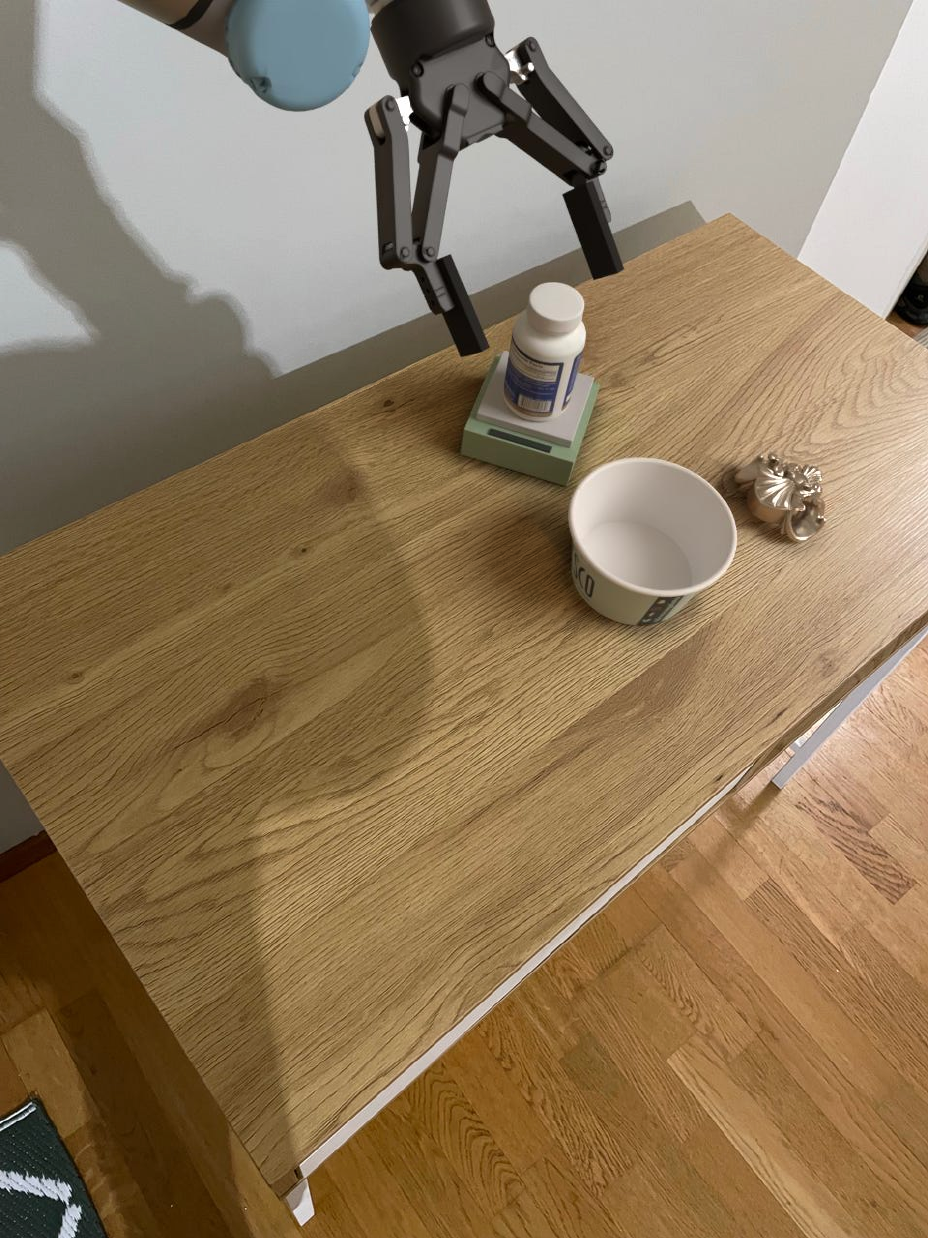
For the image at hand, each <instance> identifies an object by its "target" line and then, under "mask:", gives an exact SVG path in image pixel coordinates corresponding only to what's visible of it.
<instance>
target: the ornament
mask: <svg viewBox="0 0 928 1238" xmlns="http://www.w3.org/2000/svg"><path fill="white" fill-rule="evenodd" d="M822 481H823V474H822V470H820V469H819V468H818V467H817V466H815V465H810V464H804V465H803V466H801V465H800V464H798V463H796V462H784V459H783V458H782V457H781V458H780V457H779V456H778V454H777V453H776V452H774V451H770V452H769V453H768V454H767V460H766V459H765V458H764V455H762V454H758V455H757V456H756V457H755V458H754V459H753V460H752V461H751V462H750V463H749V464H747V465H746V466H744V467H743V468H742V469H740V470H739V471H738V472H737V473H736V474H735V475H734V482H735V483H736V484H738V485H740V486H739V487H738V491H739V492H743V493H744V492H745V493H747V492H748V493H747V495H746V504H747V507H748V509H749V511H750V512H751V514H752V515H753V516H755V518H757V519H759V520H760V521H763V522H765V523H766V524H767V523H768V524H770V525H780V529H779V531H780V532H779V533H780V534H781V535H784V534H786V535H787V536H788V538H789V539H790V540H791V541H793V542H795V543H803V542H806V541H809V540H810V539H812V538H813V537H814V536H816V535H817V534H818V533H819V532H820V531H821V529H823V527H824V526H825V525H826V522H827V518H826V517H825V516H824V515H825V509H826V501H825V500H824V499H821V496H822V494H823V487H822V486H821V485H820V483H821V482H822ZM795 512H797V513H796V515H795V517H794V518H793V515H794V513H795ZM792 518H793V520H792Z"/></svg>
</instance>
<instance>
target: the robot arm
mask: <svg viewBox="0 0 928 1238" xmlns="http://www.w3.org/2000/svg"><path fill="white" fill-rule="evenodd" d="M116 1H117V2H119V3H121V4H123V5H125V6H127V7H129V8H131V9H133V10H136V11H137V12H139V13H141V14H143V15H146V16H147V17H149V18H152V19H154V20H155V21H158V22H160V23H161V24H163V25H165V26H167V27H170V28H171V29H174V30H175V31H177V32H179V33H181V34H183V35H185V36H186V37H188V38H190V39H192V40H194V41H196V42H198V43H200V44H201V45H204V46H206V47H207V48H210V49H212V50H213V51H215V52H217V53H219V54H221V55H223V56H224V57H225V58H227V61H228V63H229V66H230V67H231V69H232V71H233V72H234V73H235V75H236V76H237V77H238V78H239V79H240V80H241V81H242V82H243V83H244V84H245V85H247V86H248V87H249V88H250V89H251V90H252V91H253V93H254V94H255V96H257V97H258V98H259V99H260V100H261V101H263V102H264V103H266V104H268V105H270V106H272V107H273V108H276V109H279V110H282V111H285V112H293V113H296V112H297V113H302V112H309V111H310V112H311V111H314V110H317V109H321V108H322V107H323V108H324V107H325V106H327V105H330V104H331V103H332V102H334V101H336V100H337V99H339V97H341V96H342V95H343V94H344V93H345V92H346V91H347V90H348V89H349V88H350V87H351V85H352V84H353V83H354V82H355V79H356V77H357V76H358V75H359V74H360V72H361V68H362V66H364V63H365V60H366V58H367V54H368V51H369V47H370V42H371V41H370V39H371V35H372V37H373V40H374V43H375V45H376V47H377V50H378V53H379V55H380V57H381V60H382V61H383V64H384V66H385V69H386V71H387V74H388V76H389V77H390V79H391V80H393V81H395V82H396V84H397V86H398V89H399V94H400V97H396V98H395V97H394V96H393V95H390V94H385V95H384V96H383V97H381V98H379V100H377V101H376V102H375V103H373V104H372V105H371V106H370V107H368V108H367V109H366V110H365V111H364V114H363V119H364V123H365V126H366V128H367V132H368V135H369V138H370V142H371V145H372V147H373V155H374V156H373V158H374V159H373V160H374V179H375V180H374V181H375V201H376V223H377V244H378V245H377V247H378V261H379V264H380V266H381V268H383V269H384V270H386V271H390V270H393V269H402V271H404V272H411V273H413V275H414V277H415V279H416V281H417V283H418V285H419V288H420V290H421V293H422V294H423V297H424V299H425V301H426V304H427V307H428V308H429V310H430V311H431V312H432V314H433V315H434V316H437V315H440V314H441V315H442V317H443V319H444V322H445V325H446V326H447V329H448V332H449V333H450V336H451V338H452V340H453V343H454V345H455V347H456V350H457V352H458V355H459V357H460V358H463V357H467V356H471V355H477V354H481V353H483V352H485V351H487V350H489V349H490V348H491V346H490V343H489V341H488V339H487V336H486V334H485V332H484V329H483V327H482V325H481V322H480V320H479V318H478V315H477V313H476V310H475V308H474V306H473V304H472V301H471V298H470V296H469V294H468V292H467V289H466V287H465V284H464V282H463V280H462V278H461V275H460V272H459V270H458V268H457V266H456V263H455V261H454V258H453V256H452V254H451V253H449V254H447V255H445V256H441V257H440V258H438V257H439V253H440V252H439V251H440V247H441V240H442V233H443V229H444V222H445V217H446V216H445V215H446V209H447V204H448V197H449V191H450V186H451V180H452V174H453V168H454V164H455V163H454V162H455V161H456V158H457V156H458V155H459V154H460V153H459V152H461V151H463V150H465V149H467V148H469V147H471V146H472V145H474V144H479V143H482V142H483V141H485V140H487V139H490V138H491V137H493V136H494V137H496V138H498V139H504V140H507V141H508V142H510V143H511V144H512V145H514V146H516V147H517V148H518V149H519V150H521V151H522V152H523V153H525V154H526V155H528V156H529V157H530V158H531V159H533V160H534V161H536V162H537V163H538V164H540V165H541V166H542V167H544V168H545V169H547V171H549V172H551V173H552V174H553V175H555V176H556V177H557V178H559V179H560V180H562V182H564V183H565V184H567V185H568V186H569V187H572V189H570V190H567V191H566V192H564V193H562V194H561V196H562V198H563V201H564V203H565V206H566V209H567V212H568V214H569V217H570V220H571V224H572V226H573V229H574V231H575V234H576V236H577V239H578V242H579V244H580V247H581V250H582V252H583V256H584V258H585V262H586V264H587V266H588V269H589V272H590V275H591V278H592V280H593V281H597V280H599V279H603V278H606V277H609V276H613V275H616V274H619V273H620V272H623V271H624V270H625V268H624V264H623V261H622V259H621V256H620V252H619V251H618V247H617V244H616V242H615V239H614V236H613V233H612V231H611V228H610V225H609V224H610V223H611V222H612V215H611V214H612V213H611V211H610V209H609V208H610V207H609V205H608V203H607V200H606V197H605V193H604V191H603V187H602V185H601V182H600V178H599V177H600V176H603V175H604V174H606V172H607V169H608V164H607V162H608V161H610V160H612V158H613V157H614V151H615V150H614V148H613V145H612V144H611V143H610V142H609V140H608V139H607V138H606V137H605V135H604V134H603V132H602V131H601V130H600V129H599V128H598V126H597V125H596V124H595V123H594V121H593V120H592V119H591V117H590V116H589V115H588V114H587V112H586V111H584V109H583V107H582V106H581V105H580V104H579V103H578V101H577V100H576V99H575V98H574V96H573V95H572V94H571V93H570V91H569V90H568V89H567V88H566V87H565V85H564V84H563V83H562V81H561V80H560V79H559V78H558V77H557V75H556V74H555V72H553V70H552V69H551V68H550V66H549V64H548V61H547V59H546V57H545V54H544V52H543V50H542V48H541V45H540V44H539V42H538V39H536V38H535V37H534V36H527V38H525V39H523V40H521V42H519V43H518V44H516V45H514V46H513V47H512V48H510V49H508V50H507V51H506V52H505V54H503V52H502V51H501V50H500V49H499V47H498V46H497V44H496V41H495V26H496V21H495V18H494V15H493V12H492V9H491V6H490V4H489V2H488V1H489V0H116ZM370 15H374V16H373V18H372V19H370ZM370 20H371V21H370ZM513 84H514V85H515V86H516V88H517V90H518V92H519V93H520V94H518V93H517V92H516V91H515V90H513V89H512V88H510V86H511V85H513ZM533 110H534V112H533ZM410 124H412V125H413V126H414V127H415V128H417V130H419V131H420V132H421V133H420V138H419V145H418V151H417V152H418V153H417V157H416V162H417V163H418V172H417V177H416V184H415V190H414V195H413V201H412V196H411V195H412V192H411V171H410V148H409V146H410V145H409V138H408V130H409V127H410Z"/></svg>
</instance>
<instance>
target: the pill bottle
mask: <svg viewBox="0 0 928 1238" xmlns="http://www.w3.org/2000/svg"><path fill="white" fill-rule="evenodd" d="M584 309H585V300H584V298H583V296H582V295H581V293H580V292H579V291H577V289H576V288H574V287H572V286H571V285H569V284H566V283H563V282H557V281H551V282H543V283H540V284H538V285H536V286H535V287H534V288H533V289H532V290H531V291H530V293H529V296H528V301H527V306H526V308H525V309H524V310H522V311H521V312H520V313H519V315H518V316H517V317H516V320H515V321H514V325H513V327H512V333H511V341H510V346H509V351H508V352H509V357H508V362H507V368H506V374H505V380H504V388H503V396H504V400H505V403H506V404H507V406H508V407H509V408H510V410H511V411H513V412H514V413H515V414H516V415H518V416H520V417H522V418H524V419H527V420H531V421H547V420H552V419H554V418H557V417H558V416H560V415H561V414H562V413H563V412H564V411H565V410H566V409H567V407H568V405H569V402H570V399H571V395H572V391H573V387H574V383H575V380H576V376H577V372H578V373H579V368H580V363H581V361H582V357H583V352H584V349H585V344H586V338H587V332H586V327H585V324H584V322H583V314H584Z"/></svg>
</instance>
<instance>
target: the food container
mask: <svg viewBox="0 0 928 1238" xmlns="http://www.w3.org/2000/svg"><path fill="white" fill-rule="evenodd" d="M567 520H568V521H567V522H568V528H569V532H570V536H571V538H572V540H571V541H572V542H571V576H572V581H573V583H574V585H575V588H576V590H577V592H578V594H579V595H580V597H581V598H582V599H583V601H585V603H586V604H587V605H588V606H589V607H591V608H592V609H593V610H594V611H595V612H596V613H598V614H599V615H601V616H603V617H605V618H607V619H609V620H612V621H614V622H616V623H620V624H624V625H628V626H629V625H630V626H650V625H656V624H660V623H662V622H664V621H666V620H669V619H670V618H671V617H673V616H675V615H676V614H678V613H679V612H680V611H681V609H682V608H683V607H684V606H686V605H687V604H688V603H689V602H690V601H691V600H692V599H693V598H694V597H695V596H696V595H697V594H698V593H699V592H701V591H702V590H704V589H706V588H708V587H710V586H711V585H713V584H715V583H716V582H717V581H718V580H719V579H721V577H723V575H724V574H725V573H726V572H727V570H728V569H729V568H730V566H731V564H732V563H733V560H734V558H735V554H736V550H737V545H738V532H737V526H736V521H735V517H734V515H733V513H732V511H731V509H730V507H729V506H728V504H727V501H725V499H724V497H723V496H722V495H721V494H720V493H719V491H717V489H716V488H715V487H714V486H713V485H712V484H711V483H710V482H708V481H707V480H706V479H705V478H703V477H702V476H700V475H699V474H697V473H696V472H694V471H692V470H691V469H688V468H687V467H684V466H682V465H680V464H677V463H675V462H671V461H668V460H664V459H660V458H655V457H646V456H635V457H634V456H633V457H624V458H619V459H615V460H611V461H607V462H606V463H604V464H602V465H599V466H597V467H596V468H594V469H593V470H591V471H590V472H589V473H587V474H586V475H585V476H584V477H583V478H582V479H581V480H580V482H578V484H577V485H576V486H575V489H574V491H573V492H572V494H571V497H570V500H569V505H568V511H567Z"/></svg>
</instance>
